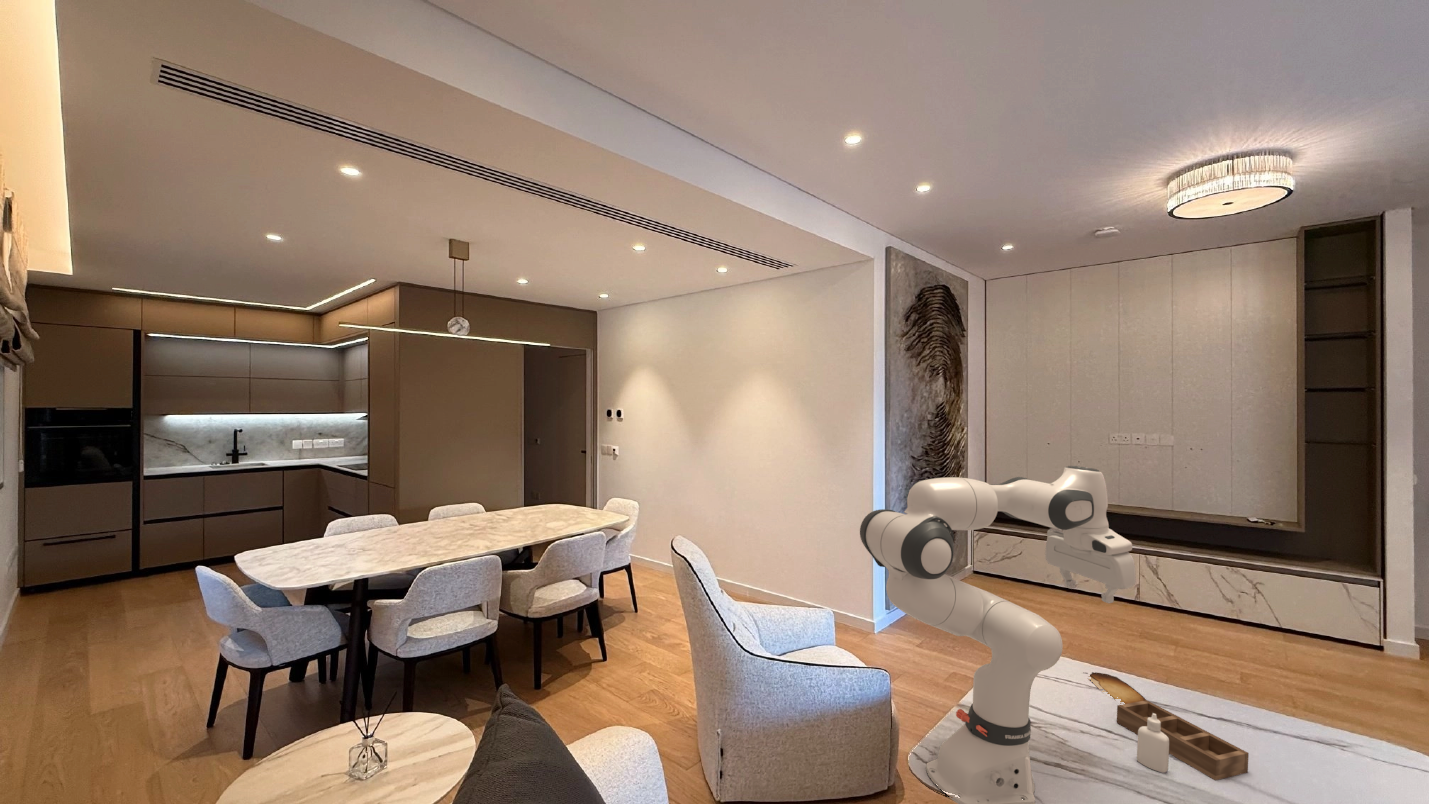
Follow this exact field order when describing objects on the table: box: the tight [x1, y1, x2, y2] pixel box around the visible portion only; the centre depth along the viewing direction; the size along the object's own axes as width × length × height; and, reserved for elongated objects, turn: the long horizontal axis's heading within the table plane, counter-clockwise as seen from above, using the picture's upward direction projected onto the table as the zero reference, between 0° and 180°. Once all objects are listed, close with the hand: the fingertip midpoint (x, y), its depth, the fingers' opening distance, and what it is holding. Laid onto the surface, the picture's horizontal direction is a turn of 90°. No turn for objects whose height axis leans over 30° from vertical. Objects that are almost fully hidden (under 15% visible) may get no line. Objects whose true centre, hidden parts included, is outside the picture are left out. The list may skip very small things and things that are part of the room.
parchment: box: [1082, 671, 1147, 705], centre depth 163 cm, size 25×10×1 cm, turn 173°
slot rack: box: [1116, 699, 1250, 781], centre depth 139 cm, size 10×23×4 cm, turn 17°
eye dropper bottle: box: [1136, 713, 1170, 774], centre depth 131 cm, size 4×6×12 cm
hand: (1088, 594), depth 132 cm, fingers open, 8 cm apart
